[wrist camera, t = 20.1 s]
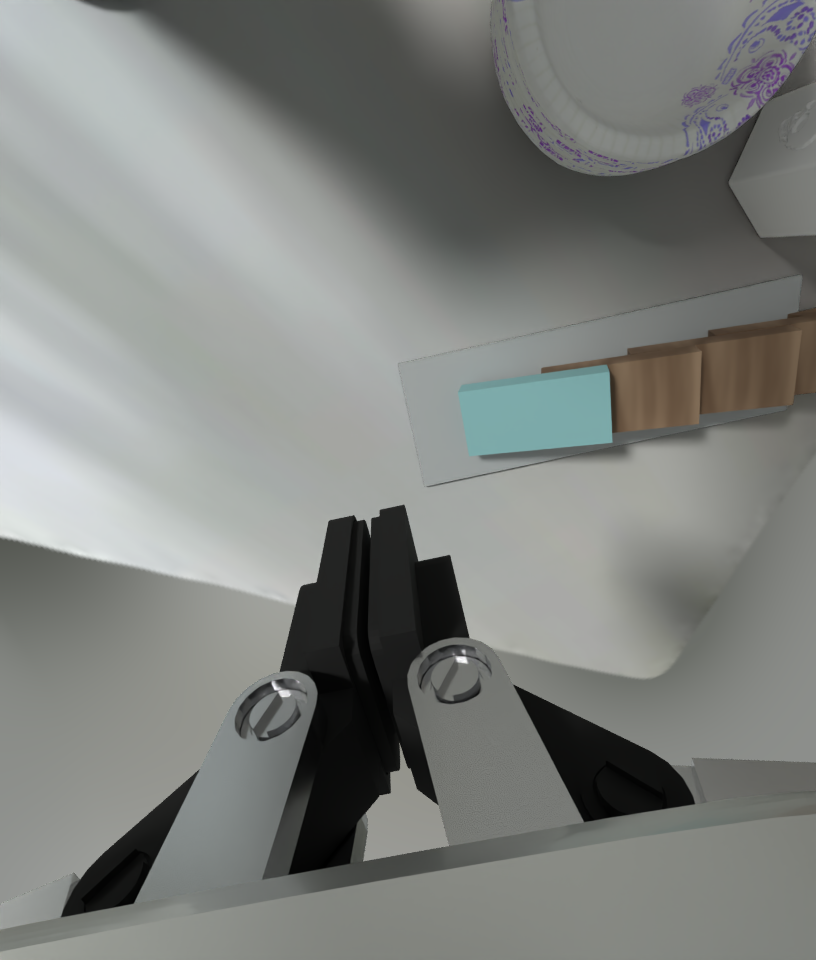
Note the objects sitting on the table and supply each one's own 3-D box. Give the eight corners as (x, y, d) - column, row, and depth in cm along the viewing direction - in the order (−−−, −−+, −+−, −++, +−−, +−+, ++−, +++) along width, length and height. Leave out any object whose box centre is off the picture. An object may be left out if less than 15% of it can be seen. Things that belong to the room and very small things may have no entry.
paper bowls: (494, -170, 25) (540, -342, 18) (776, -137, 26) (927, -288, 19) (465, 177, 31) (490, 153, 24) (693, 192, 32) (783, 174, 25)
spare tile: (469, 456, 37) (612, 442, 34) (457, 392, 35) (609, 371, 32) (472, 446, 38) (609, 432, 35) (461, 385, 36) (606, 364, 33)
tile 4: (711, 403, 36) (881, 385, 33) (715, 335, 34) (896, 308, 31) (705, 396, 38) (866, 378, 35) (708, 330, 36) (880, 304, 33)
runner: (423, 484, 40) (424, 486, 40) (397, 363, 36) (398, 364, 36) (782, 408, 39) (786, 410, 39) (798, 274, 35) (802, 274, 34)
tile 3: (631, 421, 36) (792, 404, 33) (630, 354, 34) (801, 330, 31) (628, 413, 38) (782, 396, 35) (627, 348, 36) (790, 324, 33)
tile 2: (547, 439, 37) (698, 424, 34) (541, 374, 35) (701, 351, 32) (547, 430, 38) (692, 415, 35) (541, 367, 36) (694, 345, 33)
